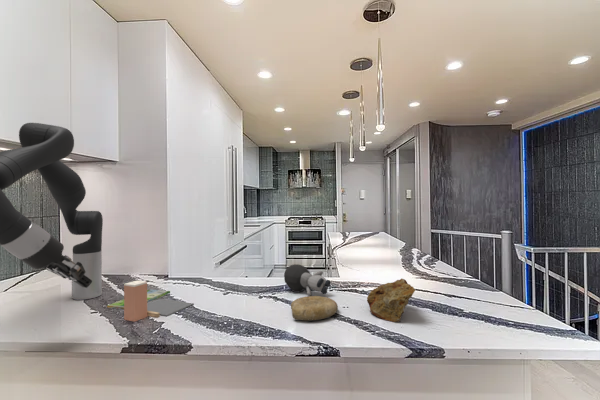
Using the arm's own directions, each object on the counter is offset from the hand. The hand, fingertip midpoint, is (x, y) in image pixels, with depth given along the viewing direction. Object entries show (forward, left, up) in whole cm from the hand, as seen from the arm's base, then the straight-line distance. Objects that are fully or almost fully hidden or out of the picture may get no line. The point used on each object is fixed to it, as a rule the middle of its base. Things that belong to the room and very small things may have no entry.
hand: (87, 284), depth 81 cm
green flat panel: (-15, +28, -15) cm, 35 cm away
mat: (0, +25, -14) cm, 29 cm away
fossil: (+50, +38, -14) cm, 65 cm away
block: (0, +14, -14) cm, 20 cm away
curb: (0, +17, -14) cm, 22 cm away
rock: (+72, +48, -14) cm, 88 cm away
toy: (+40, +59, -14) cm, 73 cm away
